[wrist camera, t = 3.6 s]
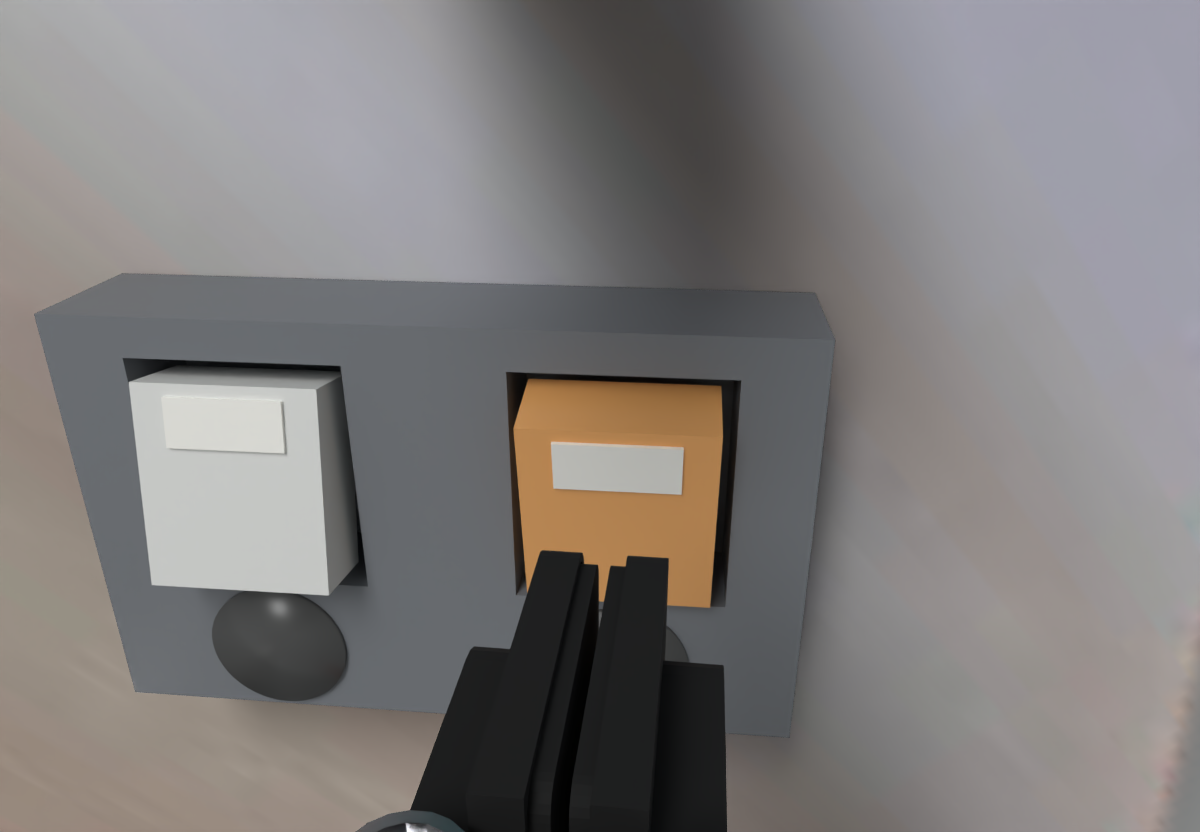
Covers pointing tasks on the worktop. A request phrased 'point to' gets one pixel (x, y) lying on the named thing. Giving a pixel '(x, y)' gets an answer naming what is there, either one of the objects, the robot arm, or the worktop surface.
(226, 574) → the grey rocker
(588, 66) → the worktop surface
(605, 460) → the labelled cardboard parcel
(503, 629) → the grey switch box
